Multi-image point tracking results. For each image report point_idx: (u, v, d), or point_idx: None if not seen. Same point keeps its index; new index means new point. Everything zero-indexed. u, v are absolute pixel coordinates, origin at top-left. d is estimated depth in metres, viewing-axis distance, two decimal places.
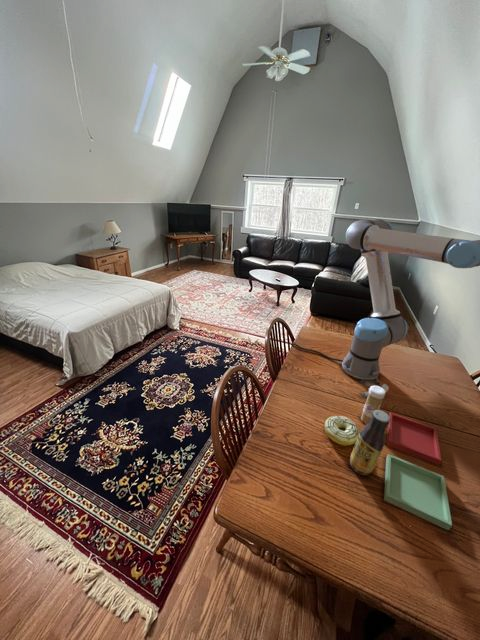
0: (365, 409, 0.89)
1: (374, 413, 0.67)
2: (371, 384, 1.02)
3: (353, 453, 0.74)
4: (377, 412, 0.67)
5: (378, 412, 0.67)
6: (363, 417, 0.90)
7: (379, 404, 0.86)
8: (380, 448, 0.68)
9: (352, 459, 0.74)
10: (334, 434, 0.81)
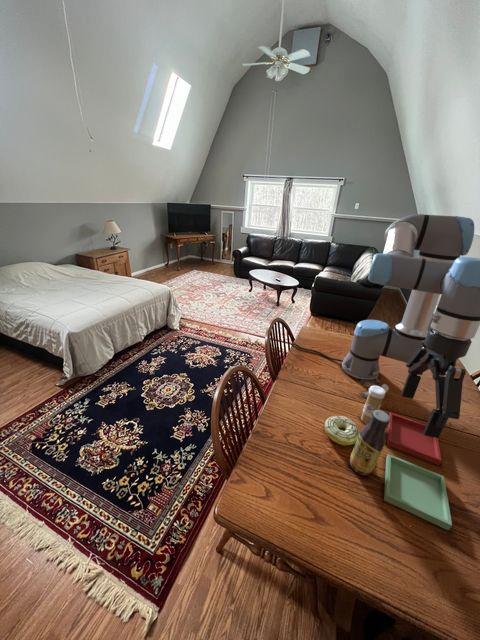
0: (365, 409, 0.89)
1: (374, 413, 0.67)
2: (371, 384, 1.02)
3: (353, 453, 0.74)
4: (377, 412, 0.67)
5: (378, 412, 0.67)
6: (363, 417, 0.90)
7: (379, 404, 0.86)
8: (380, 448, 0.68)
9: (352, 459, 0.74)
10: (334, 434, 0.81)
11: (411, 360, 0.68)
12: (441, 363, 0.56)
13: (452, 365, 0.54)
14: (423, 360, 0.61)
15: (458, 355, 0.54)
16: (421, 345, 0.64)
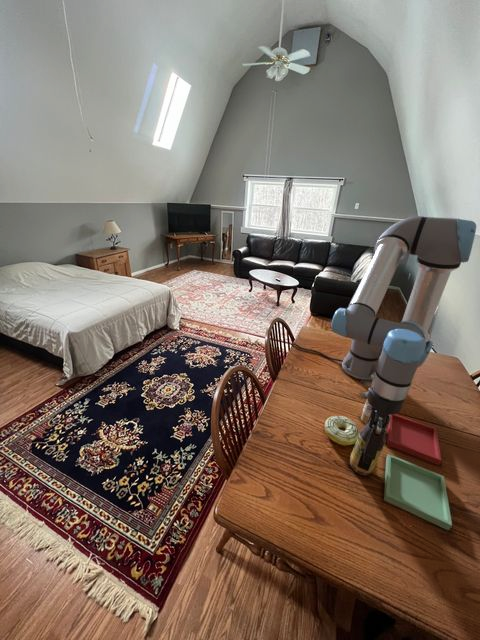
0: (365, 409, 0.89)
1: None
2: (371, 384, 1.02)
3: (353, 453, 0.74)
4: None
5: None
6: (363, 417, 0.90)
7: None
8: (380, 448, 0.68)
9: (352, 459, 0.74)
10: (334, 434, 0.81)
11: None
12: (375, 415, 0.64)
13: (380, 422, 0.63)
14: (371, 411, 0.69)
15: (387, 412, 0.62)
16: None
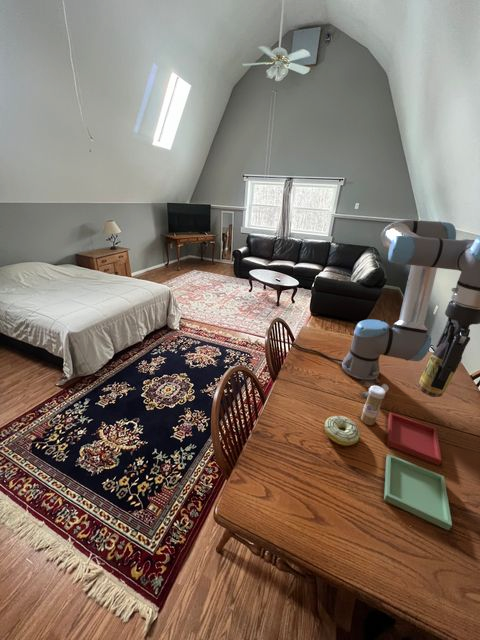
0: (365, 409, 0.89)
1: None
2: (371, 384, 1.02)
3: (424, 376, 0.75)
4: None
5: None
6: (363, 417, 0.90)
7: (379, 404, 0.86)
8: None
9: (423, 382, 0.75)
10: (334, 434, 0.81)
11: (440, 339, 0.76)
12: (456, 328, 0.66)
13: (462, 332, 0.64)
14: (446, 330, 0.70)
15: (471, 321, 0.63)
16: (447, 321, 0.73)
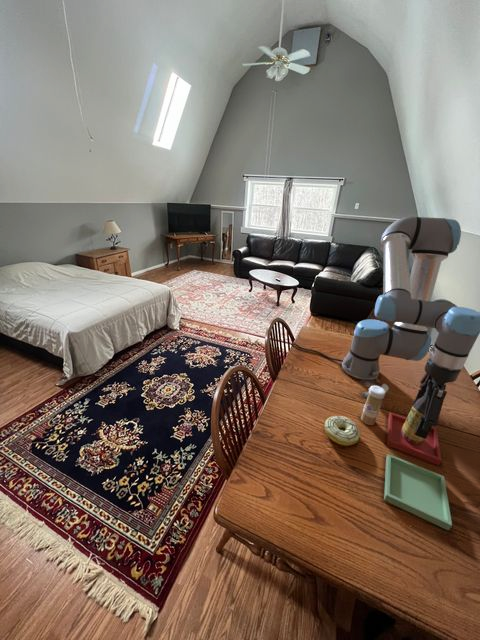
0: (365, 409, 0.89)
1: None
2: (371, 384, 1.02)
3: (406, 424, 0.83)
4: None
5: None
6: (363, 417, 0.90)
7: (379, 404, 0.86)
8: None
9: (405, 430, 0.83)
10: (334, 434, 0.81)
11: (423, 378, 0.85)
12: (433, 384, 0.74)
13: (439, 387, 0.72)
14: (426, 380, 0.79)
15: (446, 380, 0.71)
16: None
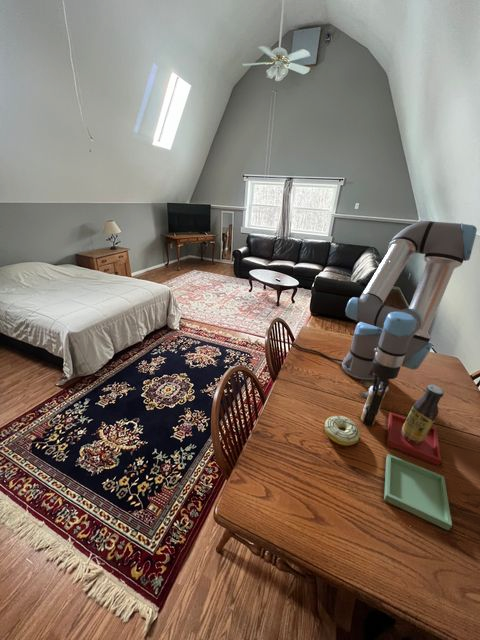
0: (365, 409, 0.89)
1: (429, 387, 0.77)
2: (371, 384, 1.02)
3: (406, 424, 0.83)
4: (431, 386, 0.77)
5: (432, 386, 0.77)
6: (363, 417, 0.90)
7: None
8: (434, 418, 0.77)
9: (405, 430, 0.83)
10: (334, 434, 0.81)
11: (373, 385, 0.91)
12: (377, 381, 0.82)
13: (381, 385, 0.80)
14: None
15: (387, 377, 0.79)
16: None
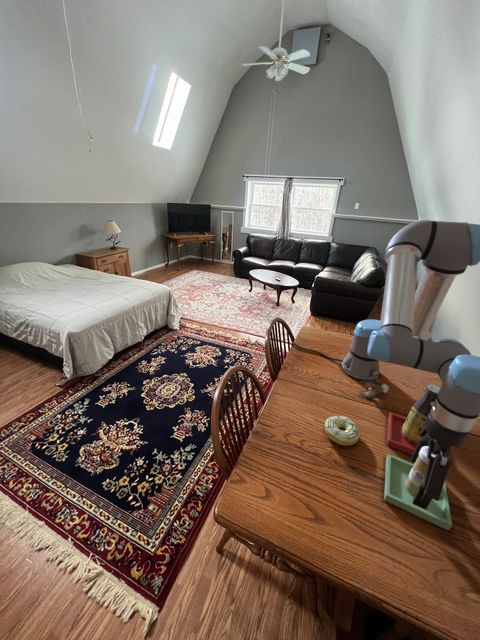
0: (413, 476, 0.67)
1: (429, 387, 0.77)
2: (371, 384, 1.02)
3: (406, 424, 0.83)
4: (431, 386, 0.77)
5: (432, 386, 0.77)
6: (409, 486, 0.68)
7: None
8: None
9: (405, 430, 0.83)
10: (334, 434, 0.81)
11: (422, 430, 0.71)
12: (435, 446, 0.60)
13: (443, 452, 0.58)
14: (426, 436, 0.66)
15: (451, 444, 0.58)
16: None
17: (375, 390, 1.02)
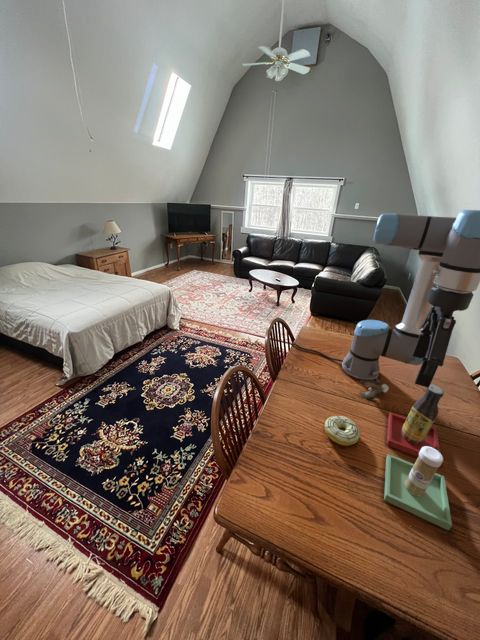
0: (413, 476, 0.67)
1: (429, 387, 0.77)
2: (371, 384, 1.02)
3: (406, 424, 0.83)
4: (431, 386, 0.77)
5: (432, 386, 0.77)
6: (409, 486, 0.68)
7: (434, 473, 0.64)
8: (434, 418, 0.77)
9: (405, 430, 0.83)
10: (334, 434, 0.81)
11: (425, 320, 0.69)
12: (438, 316, 0.58)
13: (446, 317, 0.56)
14: (429, 317, 0.63)
15: (454, 307, 0.55)
16: None
17: (375, 390, 1.02)
